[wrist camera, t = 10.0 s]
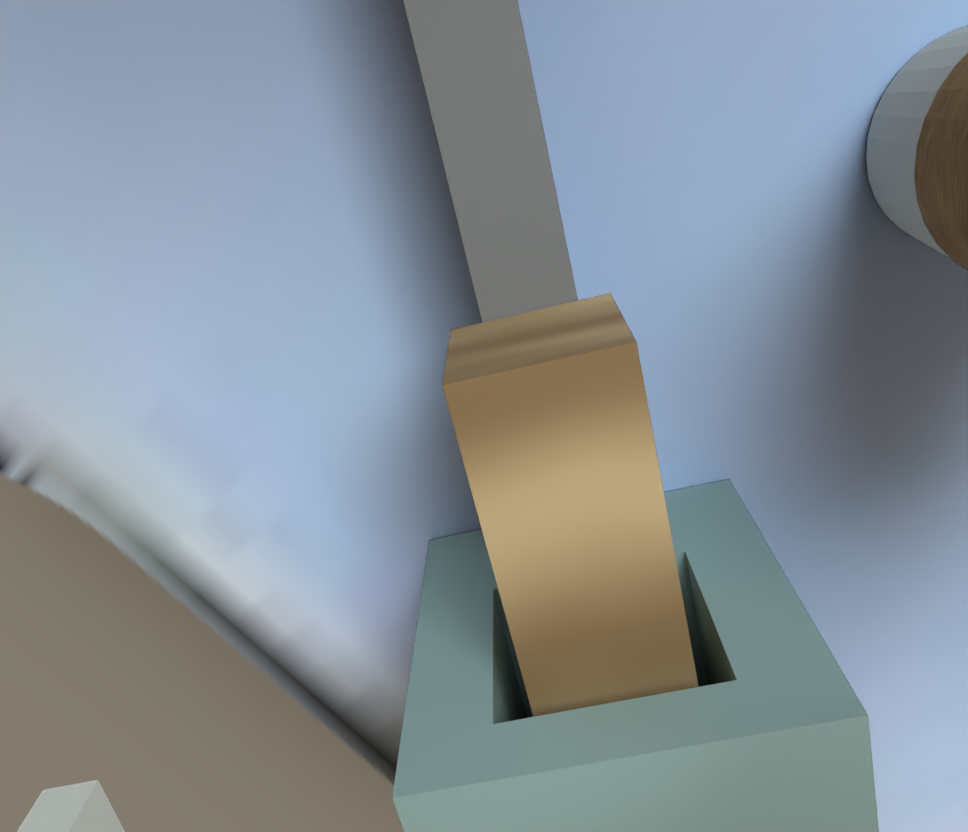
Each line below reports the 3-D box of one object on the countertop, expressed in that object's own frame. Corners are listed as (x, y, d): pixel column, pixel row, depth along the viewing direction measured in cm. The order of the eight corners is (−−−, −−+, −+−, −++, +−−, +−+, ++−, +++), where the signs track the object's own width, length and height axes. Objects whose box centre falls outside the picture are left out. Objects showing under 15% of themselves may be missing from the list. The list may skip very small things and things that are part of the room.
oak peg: (450, 329, 21) (442, 385, 17) (610, 292, 21) (636, 341, 17) (563, 757, 26) (575, 870, 22) (693, 734, 26) (727, 845, 22)
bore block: (429, 540, 28) (391, 798, 18) (729, 478, 27) (868, 715, 17) (484, 726, 31) (479, 1040, 21) (758, 677, 30) (892, 981, 20)
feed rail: (372, -185, 21) (342, -251, 17) (466, -213, 21) (459, -286, 17) (507, 377, 26) (509, 433, 22) (583, 360, 26) (600, 413, 22)
